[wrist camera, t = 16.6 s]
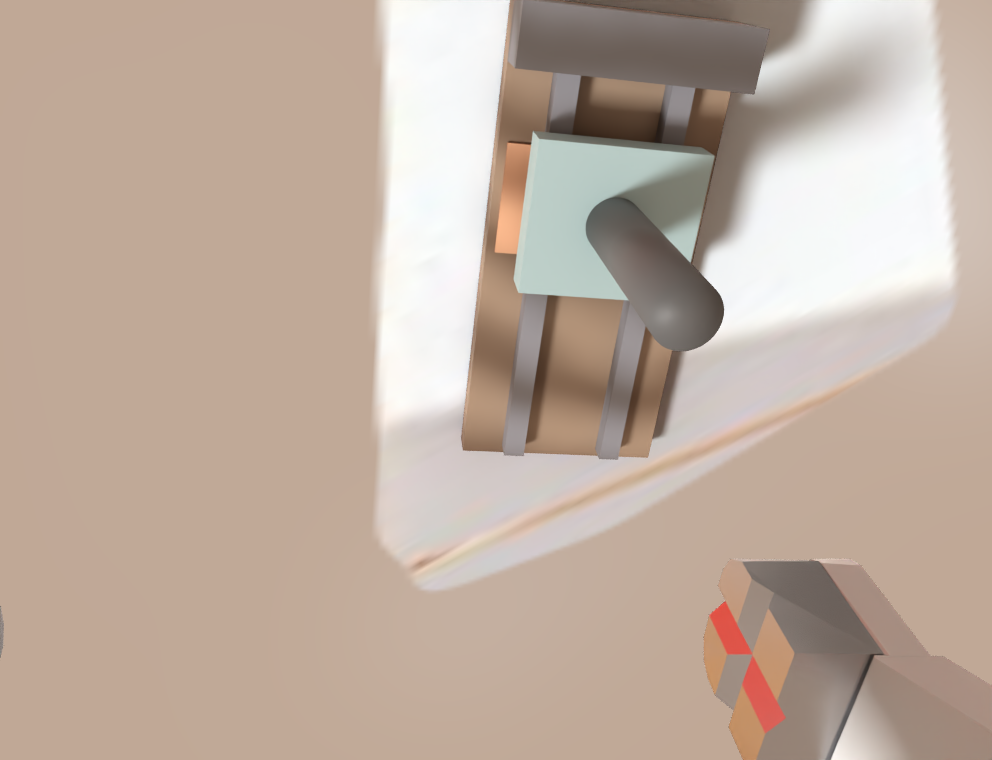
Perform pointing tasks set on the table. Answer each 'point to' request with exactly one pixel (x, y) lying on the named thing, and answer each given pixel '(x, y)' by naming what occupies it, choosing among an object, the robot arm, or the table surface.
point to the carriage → (620, 230)
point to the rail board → (499, 307)
